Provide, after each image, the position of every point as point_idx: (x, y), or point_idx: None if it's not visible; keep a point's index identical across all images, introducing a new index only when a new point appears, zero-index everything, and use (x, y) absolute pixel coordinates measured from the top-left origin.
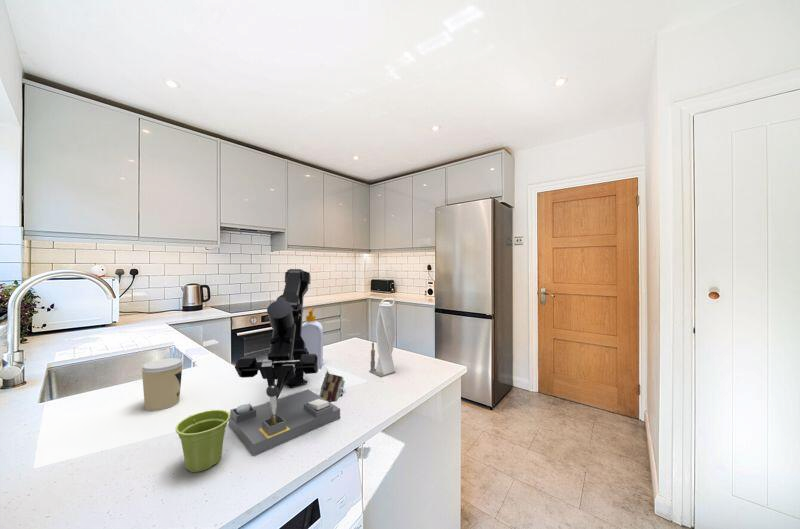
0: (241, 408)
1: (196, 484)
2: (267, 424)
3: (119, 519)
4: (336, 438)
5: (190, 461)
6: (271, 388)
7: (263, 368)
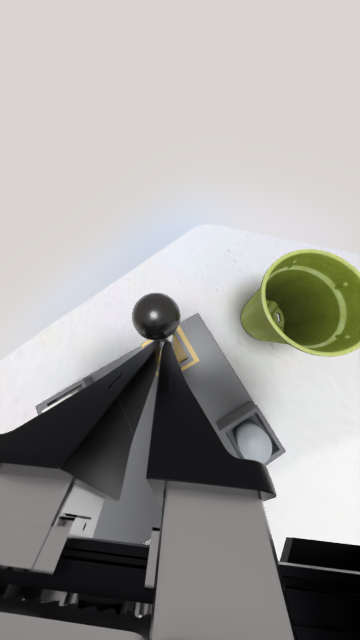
0: (258, 438)
1: (251, 277)
2: (180, 341)
3: (305, 245)
4: (75, 331)
5: (279, 293)
6: (156, 294)
7: (231, 458)
